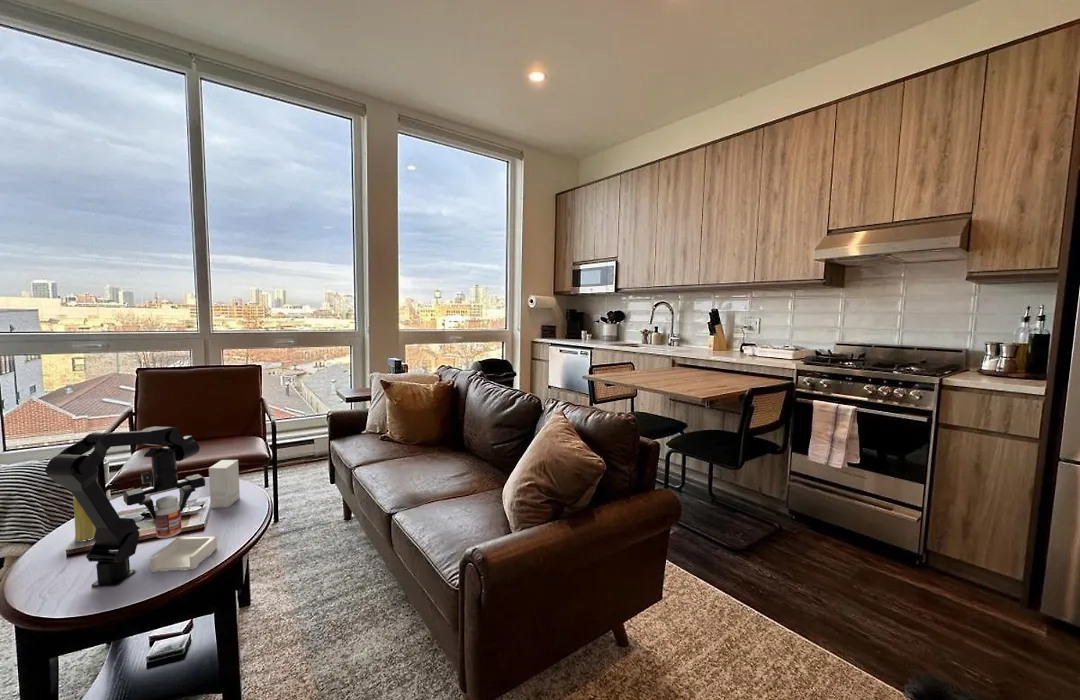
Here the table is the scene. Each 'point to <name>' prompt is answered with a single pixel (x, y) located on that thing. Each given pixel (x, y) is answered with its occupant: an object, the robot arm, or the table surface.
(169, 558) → the end holder
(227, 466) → the skincare box
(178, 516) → the pill bottle
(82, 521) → the vase
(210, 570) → the table surface
